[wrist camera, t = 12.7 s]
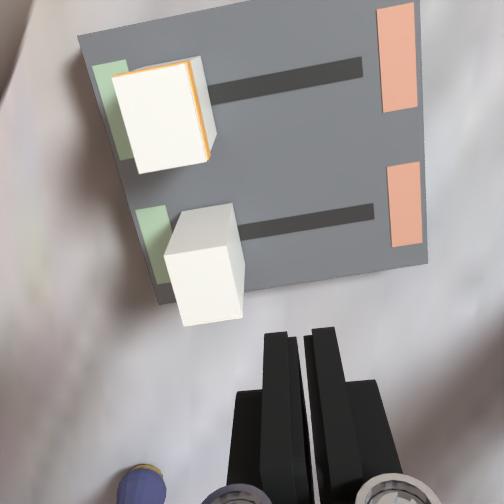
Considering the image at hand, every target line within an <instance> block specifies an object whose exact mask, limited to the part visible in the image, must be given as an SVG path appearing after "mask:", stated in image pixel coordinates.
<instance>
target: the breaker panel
mask: <svg viewBox="0 0 504 504" xmlns="http://www.w3.org/2000/svg"><path fill="white" fill-rule="evenodd" d="M77 37H78V41H79V44H80V47H81V50H82V54H83V57H84V60H85V64H86V67H87V70H88V73H89V77H90V80H91V83H92V87H93V90H94V93H95V96H96V100H97V103H98V106H99V110H100V113H101V116H102V119H103V123H104V126H105V129H106V133H107V136H108V139H109V142H110V146H111V149H112V152H113V156H114V159H115V162H116V165H117V169H118V172H119V175H120V179H121V182H122V185H123V188H124V192H125V195H126V198H127V201H128V205H129V208H130V211H131V215H132V218H133V221H134V224H135V228H136V231H137V234H138V238H139V241H140V244H141V247H142V251H143V254H144V257H145V261H146V264H147V267H148V270H149V274H150V277H151V280H152V284H153V287H154V290H155V293H156V297H157V300H158V303H159V305H161V304H168V303H174V302H177V305H178V308H179V312H180V315H181V319H182V322H183V326H191V325H198V324H204V323H211V322H218V321H225V320H231V319H238V318H242V316H243V297H244V292H246V291H252V290H259V289H265V288H272V287H278V286H285V285H291V284H298V283H304V282H311V281H317V280H324V279H331V278H337V277H344V276H350V275H357V274H363V273H370V272H376V271H383V270H389V269H396V268H402V267H409V266H415V265H422V264H428V250H427V218H426V186H425V154H424V122H423V90H422V59H421V27H420V0H250V1H245V2H240V3H235V4H230V5H226V6H221V7H216V8H211V9H206V10H201V11H196V12H191V13H186V14H182V15H177V16H172V17H167V18H162V19H157V20H152V21H147V22H143V23H138V24H133V25H128V26H123V27H118V28H113V29H108V30H103V31H99V32H94V33H89V34H84V35H79V36H77ZM196 56H201V60H202V65H203V70H204V75H205V79H206V84H207V89H208V94H209V98H210V103H211V108H212V113H213V117H214V122H215V127H216V132H217V135H216V138H215V140H214V143H213V146H212V149H211V151H210V153H211V156H210V158H209V160H207V162H204V163H198V164H193V165H187V166H181V167H176V168H170V169H164V170H159V171H153V172H148V173H142V174H139V172H138V169H137V165H136V162H135V158H134V155H133V151H132V148H131V144H130V141H129V137H128V134H127V130H126V127H125V124H124V120H123V117H122V113H121V110H120V106H119V103H118V99H117V96H116V92H115V89H114V85H113V82H112V78H113V76H114V75H117V74H120V73H126V72H130V71H133V70H136V69H139V68H141V67H145V66H150V65H155V64H160V63H165V62H170V61H175V60H181V59H186V58H191V57H196Z"/></svg>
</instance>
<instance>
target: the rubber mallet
mask: <svg viewBox="0 0 504 504" xmlns="http://www.w3.org/2000/svg"><path fill="white" fill-rule="evenodd" d="M162 478H163V475H162V474H161V472H160V470H158V469H157V468H155V467H154V466H150V465H146V464H145V465H137V466H136V467H134V468H133V469H131V471H130V472H129V473H127V474H126V475H125V476H124V478H123V479H122V481H121V482H120V484H119V486H118V490H117V504H164V502H165V497H166V486H165V483H164V481H163V479H162Z"/></svg>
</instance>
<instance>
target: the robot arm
mask: <svg viewBox="0 0 504 504" xmlns="http://www.w3.org/2000/svg"><path fill="white" fill-rule="evenodd" d="M304 347H305V358H306V368H307V379H308V390H309V400H310V411H311V422H312V432H313V443H314V453H315V463H316V472H317V480H318V488H319V496H320V504H441V502H440V500H439V499H438V497H437V496H436V495H435V493H434V492H433V491H432V489H430V488H429V487H428V486H427V485H425V484H424V483H423V482H422V481H420V480H418V479H415V478H413V477H411V476H409V475H403V472H402V469H401V465H400V462H399V458H398V455H397V451H396V448H395V444H394V441H393V438H392V434H391V431H390V427H389V424H388V420H387V417H386V413H385V410H384V407H383V403H382V400H381V396H380V393H379V389H378V386H377V383H376V381H375V379H374V380H363V381H351V382H345V377H344V372H343V367H342V362H341V357H340V352H339V348H338V343H337V338H336V333H335V328H334V327H326V328H316V329H312V335H307V336H304ZM201 504H315V500H314V488H313V477H312V465H311V453H310V441H309V431H308V422H307V414H306V406H305V399H304V391H303V383H302V376H301V368H300V360H299V353H298V345H297V338H296V337H288V335H287V331H286V332H276V333H266V334H264V357H263V386H262V389H260V390H249V391H238V392H237V394H236V399H235V409H234V418H233V428H232V437H231V446H230V456H229V465H228V474H227V484H226V486H224V487H222V488H219V489H217V490H216V491H214V492H213V493H211V494H210V495H208V497H207V498H206V499H205V500H204V501H203V502H202V503H201Z"/></svg>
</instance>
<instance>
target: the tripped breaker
mask: <svg viewBox="0 0 504 504" xmlns="http://www.w3.org/2000/svg"><path fill="white" fill-rule="evenodd" d="M112 82H113V85H114V89H115V92H116V96H117V99H118V103H119V106H120V110H121V113H122V117H123V120H124V124H125V127H126V130H127V134H128V137H129V141H130V144H131V148H132V151H133V155H134V158H135V162H136V165H137V169H138V172H139V174H142V173H148V172H153V171H159V170H164V169H170V168H176V167H181V166H187V165H193V164H198V163H204V162H207V160H209V158H210V156H211V153H210V151H211V149H212V146H213V143H214V140H215V138H216V135H217V132H216V127H215V122H214V117H213V113H212V108H211V103H210V98H209V94H208V89H207V84H206V79H205V75H204V70H203V65H202V60H201V56H196V57H191V58H186V59H181V60H175V61H170V62H165V63H160V64H155V65H150V66H145V67H141V68H139V69H136V70H133V71H130V72H126V73H120V74H117V75H114V76H113V78H112Z"/></svg>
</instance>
